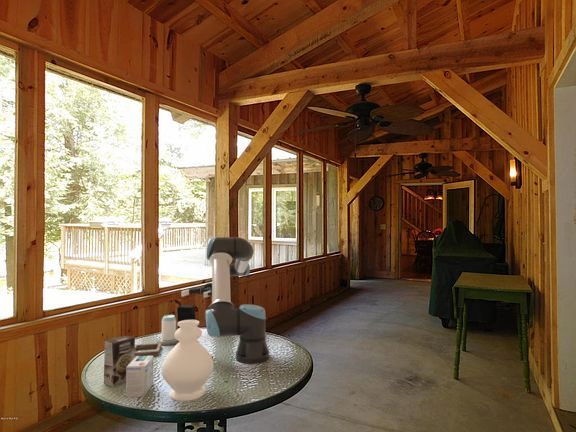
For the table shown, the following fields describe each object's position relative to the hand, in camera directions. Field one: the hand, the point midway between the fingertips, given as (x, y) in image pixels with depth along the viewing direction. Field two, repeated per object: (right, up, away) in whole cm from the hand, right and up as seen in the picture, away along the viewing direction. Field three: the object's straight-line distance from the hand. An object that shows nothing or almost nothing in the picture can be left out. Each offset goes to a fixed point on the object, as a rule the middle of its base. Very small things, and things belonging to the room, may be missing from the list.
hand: (192, 294), depth 199 cm
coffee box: (-14, -21, -57) cm, 62 cm away
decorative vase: (+15, -21, -67) cm, 72 cm away
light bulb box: (-3, -21, -65) cm, 68 cm away
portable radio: (+5, -22, -28) cm, 36 cm away
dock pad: (-10, -22, -9) cm, 26 cm away
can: (-10, -21, -9) cm, 25 cm away
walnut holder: (-16, -22, -25) cm, 37 cm away
